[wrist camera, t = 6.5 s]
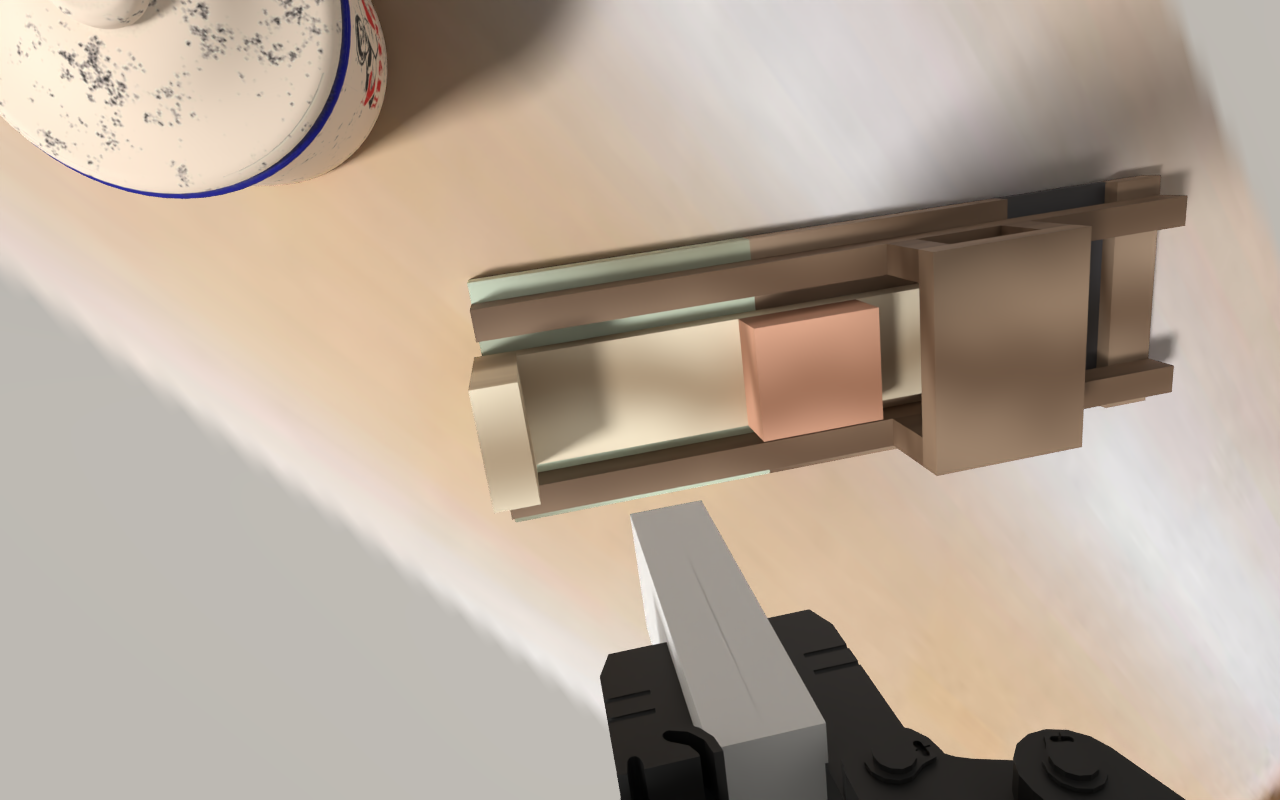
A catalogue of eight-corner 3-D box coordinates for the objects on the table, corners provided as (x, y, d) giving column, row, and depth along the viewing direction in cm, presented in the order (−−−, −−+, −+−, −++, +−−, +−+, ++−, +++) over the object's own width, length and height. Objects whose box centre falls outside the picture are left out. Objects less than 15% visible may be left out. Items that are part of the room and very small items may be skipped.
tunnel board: (468, 279, 30) (459, 303, 24) (1142, 175, 33) (1268, 174, 28) (515, 512, 33) (517, 580, 27) (1128, 394, 36) (1240, 433, 31)
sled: (474, 357, 29) (468, 390, 25) (927, 281, 31) (998, 299, 27) (496, 463, 31) (494, 513, 26) (929, 383, 33) (997, 416, 28)
